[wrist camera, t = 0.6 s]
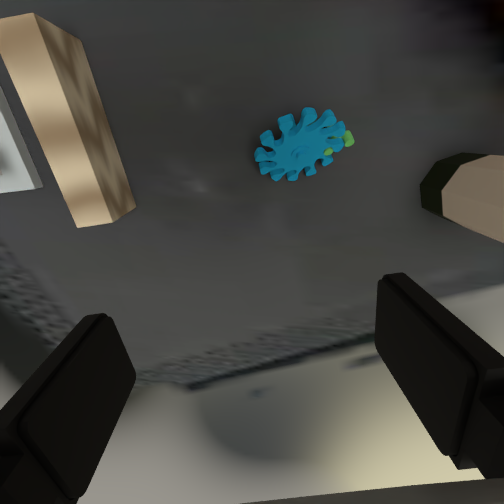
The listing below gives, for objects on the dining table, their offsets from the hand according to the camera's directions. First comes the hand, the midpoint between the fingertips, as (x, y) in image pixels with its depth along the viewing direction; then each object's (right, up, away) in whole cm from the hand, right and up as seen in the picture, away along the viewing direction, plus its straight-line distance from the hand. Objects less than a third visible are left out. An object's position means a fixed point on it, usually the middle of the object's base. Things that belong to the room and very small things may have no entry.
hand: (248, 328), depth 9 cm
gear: (+6, +16, +23) cm, 29 cm away
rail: (-19, +17, +22) cm, 33 cm away
